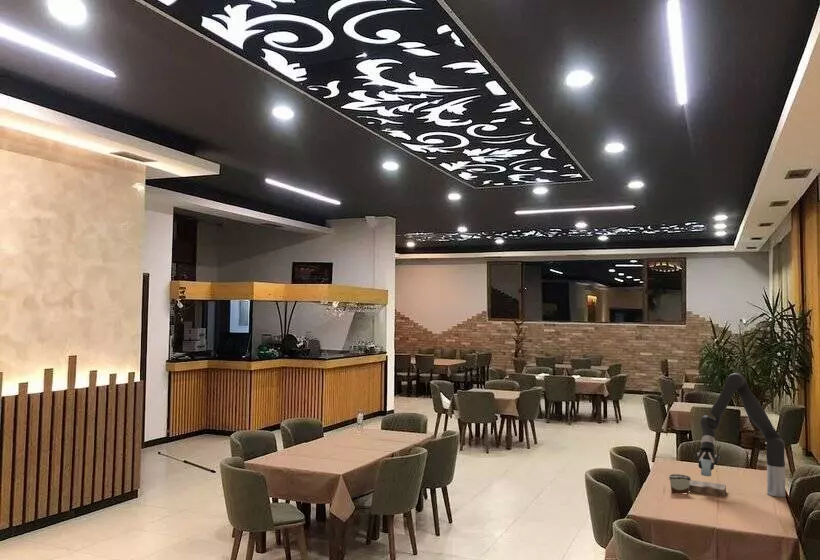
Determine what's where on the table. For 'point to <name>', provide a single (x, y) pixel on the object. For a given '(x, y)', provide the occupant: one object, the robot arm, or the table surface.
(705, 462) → the ceramic jar
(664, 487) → the table surface
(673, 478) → the food container
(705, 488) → the walnut stand
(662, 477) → the table surface
